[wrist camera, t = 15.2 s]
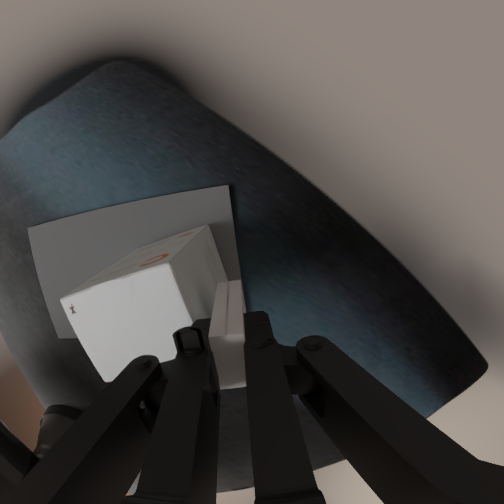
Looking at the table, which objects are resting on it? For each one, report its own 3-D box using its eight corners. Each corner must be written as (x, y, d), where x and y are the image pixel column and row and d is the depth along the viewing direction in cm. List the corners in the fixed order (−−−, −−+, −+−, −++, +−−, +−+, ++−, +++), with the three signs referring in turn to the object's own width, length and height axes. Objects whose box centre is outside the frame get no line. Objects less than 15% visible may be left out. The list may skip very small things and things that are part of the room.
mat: (60, 336, 28) (58, 338, 27) (30, 227, 25) (27, 228, 24) (247, 320, 29) (248, 322, 29) (228, 185, 26) (228, 185, 25)
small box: (158, 306, 27) (102, 384, 15) (134, 249, 26) (55, 298, 13) (232, 285, 27) (215, 368, 14) (210, 222, 25) (168, 259, 13)
